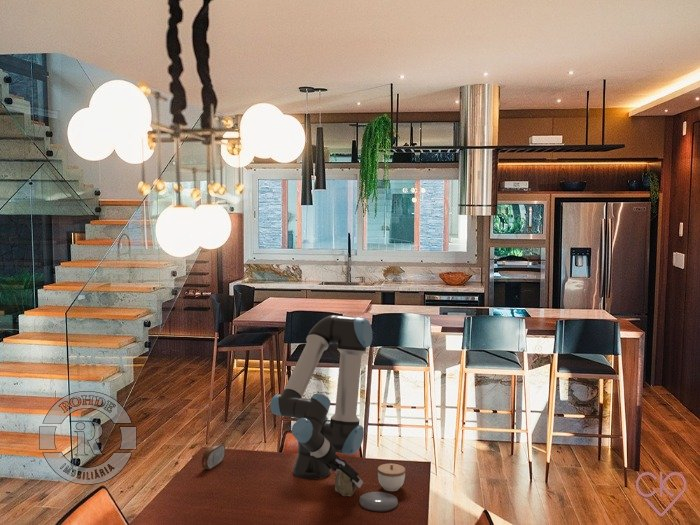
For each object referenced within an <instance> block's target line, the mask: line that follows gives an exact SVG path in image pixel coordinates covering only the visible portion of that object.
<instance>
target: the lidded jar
mask: <svg viewBox="0 0 700 525" xmlns="http://www.w3.org/2000/svg"><path fill="white" fill-rule="evenodd" d="M405 478H406V468H405V467H404V466H403V465H401V464H397V463H384V464H380V465H379V466H378V467H377V479H378V482H379V484H380V485H381V487H382V488H383V490H385V491H387V492H396V491H399V489H401V487H402V486H403V485H404V483H405Z"/></svg>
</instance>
